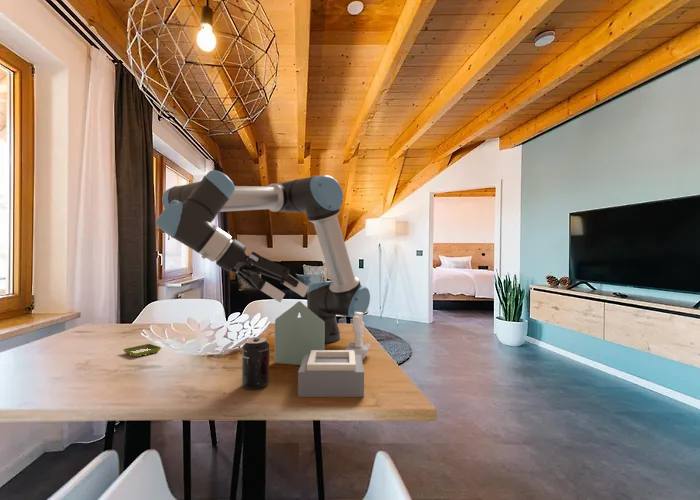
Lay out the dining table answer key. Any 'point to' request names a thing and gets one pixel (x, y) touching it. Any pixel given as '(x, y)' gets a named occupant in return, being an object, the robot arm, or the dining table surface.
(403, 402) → the dining table surface
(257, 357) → the beverage can
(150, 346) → the green shallow square tray
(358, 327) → the figurine
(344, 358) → the stand
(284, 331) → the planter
